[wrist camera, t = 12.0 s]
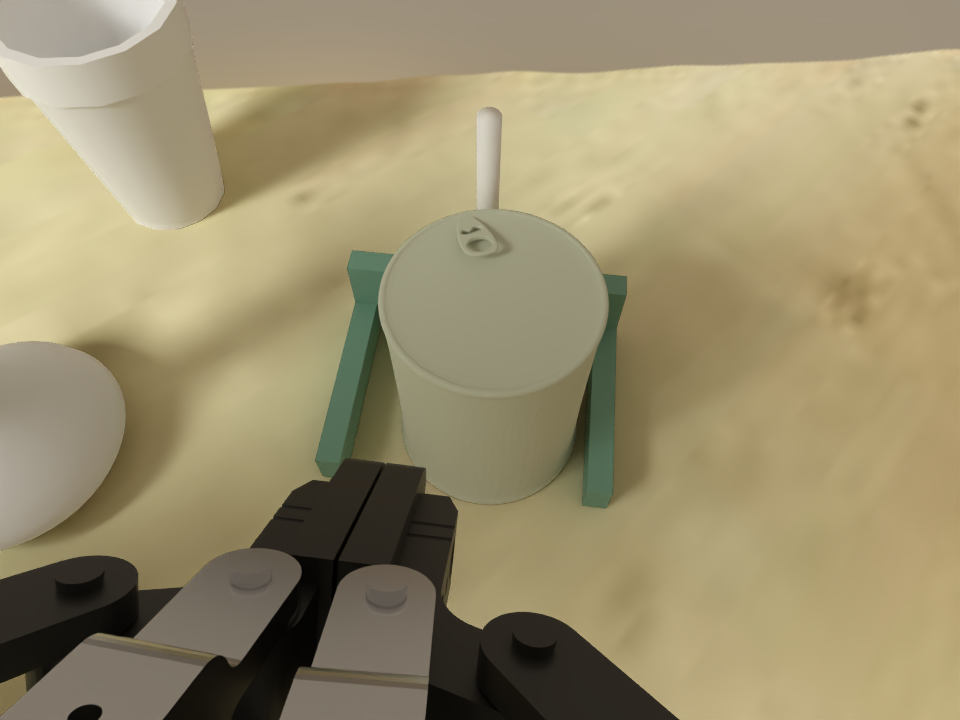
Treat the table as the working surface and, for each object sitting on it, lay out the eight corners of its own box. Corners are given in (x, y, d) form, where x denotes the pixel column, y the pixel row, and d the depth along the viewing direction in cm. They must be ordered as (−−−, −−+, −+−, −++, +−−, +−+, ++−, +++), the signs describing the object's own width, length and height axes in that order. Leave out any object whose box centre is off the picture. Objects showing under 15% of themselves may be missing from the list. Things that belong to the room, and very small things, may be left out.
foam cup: (275, 166, 48) (214, -24, 36) (195, 267, 43) (98, 86, 32) (157, 128, 49) (64, -63, 38) (69, 221, 45) (-65, 35, 34)
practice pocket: (606, 508, 35) (679, 349, 23) (322, 475, 36) (238, 305, 23) (611, 329, 41) (672, 120, 28) (364, 305, 42) (314, 91, 29)
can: (541, 331, 41) (563, 179, 31) (602, 476, 36) (651, 354, 26) (385, 372, 40) (352, 226, 29) (427, 527, 35) (407, 420, 25)
